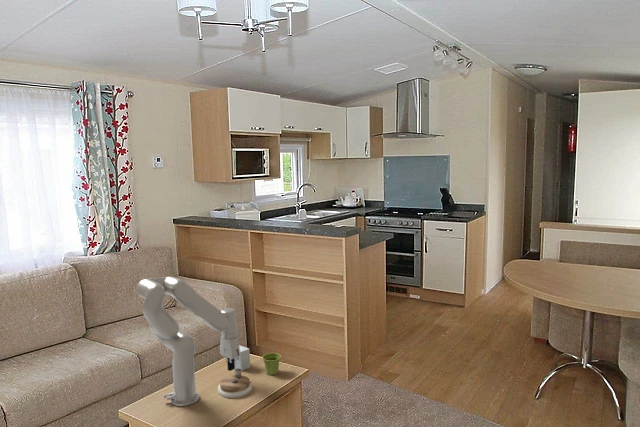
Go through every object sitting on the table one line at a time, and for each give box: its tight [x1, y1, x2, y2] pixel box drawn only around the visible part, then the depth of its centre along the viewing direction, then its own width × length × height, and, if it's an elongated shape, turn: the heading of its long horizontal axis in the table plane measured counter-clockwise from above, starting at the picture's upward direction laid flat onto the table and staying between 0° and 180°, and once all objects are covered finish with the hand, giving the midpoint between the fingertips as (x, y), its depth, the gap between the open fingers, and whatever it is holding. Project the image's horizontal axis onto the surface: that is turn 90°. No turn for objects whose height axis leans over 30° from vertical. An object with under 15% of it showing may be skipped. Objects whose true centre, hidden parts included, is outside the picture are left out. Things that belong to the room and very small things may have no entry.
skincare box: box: [234, 344, 251, 372], centre depth 247 cm, size 10×6×10 cm, turn 49°
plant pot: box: [261, 352, 282, 376], centre depth 239 cm, size 9×9×9 cm
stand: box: [217, 380, 253, 399], centre depth 223 cm, size 16×16×2 cm
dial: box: [219, 369, 251, 392], centre depth 222 cm, size 14×14×5 cm
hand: (231, 369), depth 231 cm, fingers closed
